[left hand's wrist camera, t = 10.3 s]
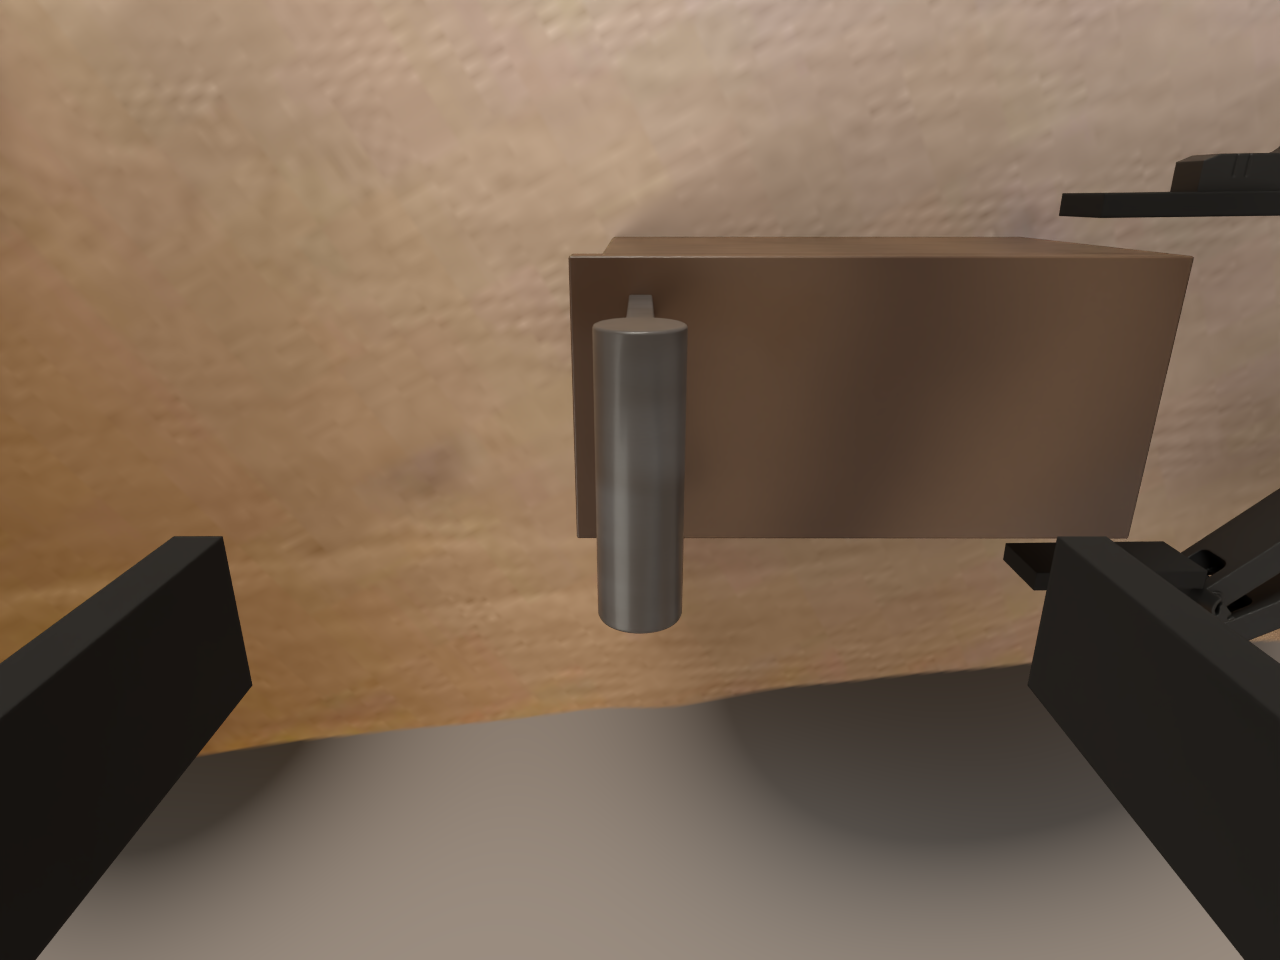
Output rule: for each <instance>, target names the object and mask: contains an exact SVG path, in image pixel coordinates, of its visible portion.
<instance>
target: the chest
mask: <svg viewBox="0 0 1280 960" xmlns="http://www.w3.org/2000/svg"><path fill="white" fill-rule="evenodd" d="M603 254H1168V253H1159V252H1150V251H1141V250H1132V249H1123V248H1114V247H1105V246H1096V245H1087V244H1078V243H1069V242H1060V241H1051V240H1042V239H1033V238H1024V237H614V238H613V239H612V240H611V242H610V243H609V245H608V247H607V248H606V250H605V251H604V253H603Z"/></svg>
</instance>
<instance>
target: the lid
mask: <svg viewBox="0 0 1280 960" xmlns="http://www.w3.org/2000/svg"><path fill="white" fill-rule="evenodd" d="M1192 263H1193V257H1192V256H1185V255H1176V254H572V255H571V256H569V287H570V321H571V354H572V387H573V420H574V454H575V487H576V520H577V537H578V538H597V576H598V613H599V616H600V618H601V620H602V621H603V622H604V623H605V624H606V625H608V626H609V627H611V628H613V629H616V630H619V631H623V632H628V633H652V632H657V631H661V630H664V629H667V628H669V627H671V626H672V625H674V624H675V623H676V622H677V621H678V620H679V618H680V616H681V614H682V583H683V538H1057V536H1106V537H1108V538H1128V536H1129V532H1130V527H1131V523H1132V519H1133V515H1134V510H1135V506H1136V502H1137V497H1138V493H1139V489H1140V485H1141V480H1142V476H1143V472H1144V468H1145V463H1146V459H1147V455H1148V451H1149V446H1150V442H1151V438H1152V433H1153V429H1154V425H1155V421H1156V416H1157V412H1158V408H1159V404H1160V399H1161V395H1162V391H1163V387H1164V382H1165V378H1166V374H1167V369H1168V365H1169V361H1170V357H1171V352H1172V348H1173V344H1174V340H1175V335H1176V331H1177V327H1178V322H1179V318H1180V314H1181V310H1182V305H1183V301H1184V297H1185V293H1186V288H1187V284H1188V280H1189V276H1190V271H1191V267H1192Z"/></svg>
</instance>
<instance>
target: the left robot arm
mask: <svg viewBox="0 0 1280 960" xmlns="http://www.w3.org/2000/svg"><path fill="white" fill-rule="evenodd" d="M251 686H252V681H251V676H250V671H249V666H248V661H247V656H246V651H245V646H244V641H243V636H242V631H241V626H240V621H239V616H238V611H237V606H236V601H235V596H234V591H233V586H232V581H231V576H230V571H229V566H228V561H227V556H226V551H225V546H224V541H223V536H174V537H172V538H171V539H170V540H168V541H167V542H166V543H164V544H163V545H161V546H160V547H159V548H157V549H156V550H155V551H153V552H152V553H151V554H149V555H148V556H146V557H145V558H144V559H142V560H141V561H140V562H138V563H137V564H136V565H134V566H133V567H131V568H130V569H129V570H127V571H126V572H125V573H123V574H122V575H121V576H119V577H118V578H116V579H115V580H114V581H112V582H111V583H110V584H108V585H107V586H106V587H104V588H103V589H101V590H100V591H99V592H97V593H96V594H95V595H93V596H92V597H90V598H89V599H88V600H86V601H85V602H84V603H82V604H81V605H80V606H78V607H77V608H75V609H74V610H73V611H71V612H70V613H69V614H67V615H66V616H65V617H63V618H62V619H60V620H59V621H58V622H56V623H55V624H54V625H52V626H51V627H50V628H48V629H47V630H45V631H44V632H43V633H41V634H40V635H39V636H37V637H36V638H35V639H33V640H32V641H30V642H29V643H28V644H26V645H25V646H24V647H22V648H21V649H20V650H18V651H17V652H15V653H14V654H13V655H11V656H10V657H9V658H7V659H6V660H5V661H3V662H2V663H0V960H36V959H37V957H38V956H39V955H40V953H41V952H42V951H43V950H44V948H45V947H46V946H47V945H48V943H49V942H50V941H51V940H52V938H53V937H54V936H55V934H56V933H57V932H58V931H59V929H60V928H61V927H62V926H63V924H64V923H65V922H66V921H67V919H68V918H69V917H70V916H71V914H72V913H73V912H74V910H75V909H76V908H77V907H78V905H79V904H80V903H81V902H82V900H83V899H84V898H85V896H86V895H87V894H88V893H89V891H90V890H91V889H92V888H93V886H94V885H95V884H96V883H97V881H98V880H99V879H100V878H101V876H102V875H103V874H104V873H105V871H106V870H107V869H108V867H109V866H110V865H111V864H112V862H113V861H114V860H115V859H116V857H117V856H118V855H119V853H120V852H121V851H122V850H123V848H124V847H125V846H126V845H127V843H128V842H129V841H130V840H131V838H132V837H133V836H134V835H135V833H136V832H137V831H138V829H139V828H140V827H141V826H142V824H143V823H144V822H145V821H146V819H147V818H148V817H149V816H150V814H151V813H152V812H153V811H154V809H155V808H156V807H157V805H158V804H159V803H160V802H161V800H162V799H163V798H164V797H165V795H166V794H167V793H168V791H169V790H170V789H171V788H172V786H173V785H174V784H175V783H176V781H177V780H178V779H179V778H180V776H181V775H182V774H183V772H184V771H185V770H186V769H187V767H188V766H189V765H190V764H191V762H192V761H193V760H194V759H195V757H196V756H197V755H198V754H199V752H200V751H201V750H202V748H203V747H204V746H205V745H206V743H207V742H208V741H209V740H210V738H211V737H212V736H213V735H214V733H215V732H216V731H217V730H218V728H219V727H220V726H221V724H222V723H223V722H224V721H225V719H226V718H227V717H228V716H229V714H230V713H231V712H232V711H233V709H234V708H235V707H236V705H237V704H238V703H239V702H240V700H241V699H242V698H243V697H244V695H245V694H246V693H247V692H248V690H249V689H250V688H251ZM1028 686H1029V688H1030V689H1031V690H1032V692H1033V693H1034V694H1035V695H1036V697H1037V698H1038V699H1039V700H1040V702H1041V703H1042V704H1043V705H1044V707H1045V708H1046V709H1047V711H1048V712H1049V713H1050V714H1051V716H1052V717H1053V718H1054V719H1055V721H1056V722H1057V723H1058V724H1059V726H1060V727H1061V728H1062V729H1063V731H1064V732H1065V733H1066V735H1067V736H1068V737H1069V738H1070V740H1071V741H1072V742H1073V743H1074V745H1075V746H1076V747H1077V748H1078V750H1079V751H1080V752H1081V754H1082V755H1083V756H1084V757H1085V759H1086V760H1087V761H1088V762H1089V764H1090V765H1091V766H1092V767H1093V769H1094V770H1095V771H1096V773H1097V774H1098V775H1099V776H1100V778H1101V779H1102V780H1103V781H1104V783H1105V784H1106V785H1107V786H1108V788H1109V789H1110V790H1111V791H1112V793H1113V794H1114V795H1115V797H1116V798H1117V799H1118V800H1119V802H1120V803H1121V804H1122V805H1123V807H1124V808H1125V809H1126V811H1127V812H1128V813H1129V814H1130V816H1131V817H1132V818H1133V819H1134V821H1135V822H1136V823H1137V824H1138V826H1139V827H1140V828H1141V829H1142V831H1143V832H1144V833H1145V835H1146V836H1147V837H1148V838H1149V840H1150V841H1151V842H1152V843H1153V845H1154V846H1155V847H1156V848H1157V850H1158V851H1159V852H1160V853H1161V855H1162V856H1163V857H1164V859H1165V860H1166V861H1167V862H1168V864H1169V865H1170V866H1171V867H1172V869H1173V870H1174V871H1175V873H1176V874H1177V875H1178V876H1179V878H1180V879H1181V880H1182V881H1183V883H1184V884H1185V885H1186V886H1187V888H1188V889H1189V890H1190V891H1191V893H1192V894H1193V895H1194V897H1195V898H1196V899H1197V900H1198V902H1199V903H1200V904H1201V905H1202V907H1203V908H1204V909H1205V910H1206V912H1207V913H1208V914H1209V916H1210V917H1211V918H1212V919H1213V921H1214V922H1215V923H1216V924H1217V926H1218V927H1219V928H1220V929H1221V931H1222V932H1223V933H1224V934H1225V936H1226V937H1227V938H1228V940H1229V941H1230V942H1231V943H1232V945H1233V946H1234V947H1235V948H1236V950H1237V951H1238V952H1239V953H1240V955H1241V956H1242V957H1243V959H1244V960H1280V663H1278V662H1277V661H1275V660H1274V659H1273V658H1271V657H1270V656H1269V655H1267V654H1266V653H1264V652H1263V651H1262V650H1260V649H1259V648H1258V647H1256V646H1255V645H1254V644H1252V643H1251V642H1250V641H1248V640H1247V639H1245V638H1244V637H1243V636H1241V635H1240V634H1239V633H1237V632H1236V631H1235V630H1233V629H1232V628H1230V627H1229V626H1228V625H1226V624H1225V623H1224V622H1222V621H1221V620H1220V619H1218V618H1217V617H1215V616H1214V615H1213V614H1211V613H1210V612H1209V611H1207V610H1206V609H1205V608H1203V607H1202V606H1200V605H1199V604H1198V603H1196V602H1195V601H1194V600H1192V599H1191V598H1190V597H1188V596H1187V595H1185V594H1184V593H1183V592H1181V591H1180V590H1179V589H1177V588H1176V587H1174V586H1173V585H1172V584H1170V583H1169V582H1168V581H1166V580H1165V579H1164V578H1162V577H1161V576H1159V575H1158V574H1157V573H1155V572H1154V571H1153V570H1151V569H1150V568H1149V567H1147V566H1146V565H1144V564H1143V563H1142V562H1140V561H1139V560H1138V559H1136V558H1135V557H1134V556H1132V555H1131V554H1129V553H1128V552H1127V551H1125V550H1124V549H1123V548H1121V547H1120V546H1119V545H1117V544H1116V543H1114V542H1113V541H1112V540H1110V539H1109V538H1108V537H1106V536H1057V541H1056V546H1055V551H1054V556H1053V561H1052V566H1051V571H1050V576H1049V581H1048V586H1047V591H1046V596H1045V601H1044V606H1043V611H1042V616H1041V621H1040V626H1039V631H1038V636H1037V641H1036V646H1035V651H1034V656H1033V661H1032V666H1031V671H1030V676H1029V681H1028Z"/></svg>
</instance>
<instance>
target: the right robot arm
mask: <svg viewBox="0 0 1280 960" xmlns="http://www.w3.org/2000/svg"><path fill="white" fill-rule="evenodd" d="M1059 216H1073V217H1093V218H1130V217H1206V216H1280V147H1279V148H1277V149H1276V150H1274V151H1273V152H1270V153H1242V154H1211V155H1197V156H1191V157H1188V158H1186V159H1183V160H1181V161H1178V162H1176V166H1175V171H1174V176H1173V181H1172V186H1171V190H1170V192H1135V193H1063V194H1062V201H1061V207H1060V213H1059ZM1114 543H1116V544H1117V545H1119V546H1120V547H1121V548H1123V549H1124V550H1125V551H1127V552H1128V553H1129V554H1131V555H1132V556H1134V557H1135V558H1136V559H1138V560H1139V561H1140V562H1142V563H1143V564H1144V565H1146V566H1147V567H1149V568H1150V569H1151V570H1153V571H1154V572H1155V573H1157V574H1158V575H1159V576H1161V577H1162V578H1164V579H1165V580H1166V581H1168V582H1169V583H1170V584H1172V585H1173V586H1174V587H1176V588H1177V589H1179V590H1180V591H1181V592H1183V593H1184V594H1185V595H1187V596H1188V597H1190V598H1191V599H1192V600H1194V601H1195V602H1196V603H1198V604H1199V605H1200V606H1202V607H1203V608H1205V609H1206V610H1207V611H1209V612H1210V613H1211V614H1213V615H1214V616H1215V617H1217V618H1218V619H1220V620H1221V621H1222V622H1224V623H1225V624H1226V625H1228V626H1229V627H1230V628H1232V629H1233V630H1235V631H1236V632H1237V633H1239V634H1240V635H1241V636H1243V637H1244V638H1245V639H1247V640H1248V641H1249V640H1251V639H1254V638H1256V637H1259V636H1261V635H1264V634H1266V633H1269V632H1271V631H1274V630H1277V629H1279V628H1280V489H1278V490H1276V491H1275V492H1273V493H1272V494H1270V495H1269V496H1267V497H1266V498H1264V499H1263V500H1261V501H1260V502H1258V503H1257V504H1255V505H1254V506H1252V507H1250V508H1249V509H1247V510H1246V511H1244V512H1243V513H1241V514H1240V515H1238V516H1237V517H1235V518H1234V519H1232V520H1231V521H1229V522H1227V523H1226V524H1224V525H1223V526H1221V527H1220V528H1218V529H1217V530H1215V531H1214V532H1212V533H1211V534H1209V535H1208V536H1206V537H1205V538H1203V539H1201V540H1200V541H1198V542H1197V543H1195V544H1194V545H1192V546H1191V547H1189V548H1188V549H1186V550H1185V551H1183V552H1182V553H1180V552H1178V551H1177V550H1175V549H1174V548H1172V547H1171V546H1169V545H1168V544H1166V543H1165V542H1163V541H1157V542H1114ZM1055 546H1056V543H1006V545H1005V551H1004V558H1003V560H1004V561H1005V562H1006V563H1007V564H1008V565H1009V566H1010V567H1011V568H1012V569H1013V570H1014V571H1015V572H1016V573H1017V574H1018V575H1019V576H1020V577H1021V578H1022V579H1023V580H1024V581H1025V582H1026V583H1027V584H1028V585H1029V586H1030V587H1031V588H1032V589H1033V590H1047V586H1048V581H1049V576H1050V571H1051V566H1052V561H1053V556H1054V551H1055ZM1208 575H1212V576H1208Z"/></svg>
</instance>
